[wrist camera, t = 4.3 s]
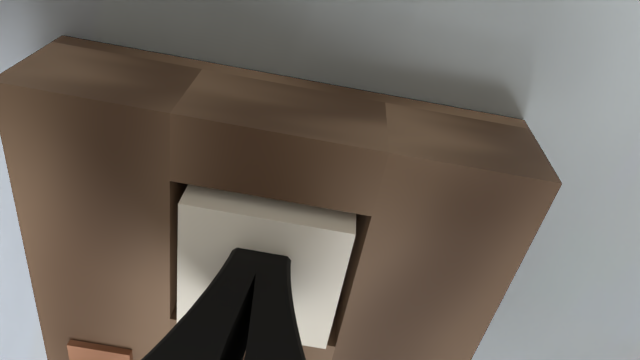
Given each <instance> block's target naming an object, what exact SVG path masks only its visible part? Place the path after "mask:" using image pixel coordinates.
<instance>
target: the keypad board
mask: <svg viewBox="0 0 640 360" xmlns="http://www.w3.org/2000/svg"><path fill="white" fill-rule="evenodd" d="M0 135H1V140H2V145H3V149H4V154H5V159H6V164H7V168H8V173H9V178H10V183H11V187H12V192H13V197H14V202H15V206H16V211H17V216H18V221H19V226H20V230H21V235H22V240H23V245H24V249H25V254H26V259H27V264H28V268H29V273H30V278H31V283H32V287H33V292H34V297H35V302H36V307H37V311H38V316H39V321H40V326H41V330H42V335H43V340H44V345H45V349H46V354H47V359H48V360H141V359H142V358H143V357H144V356H145V355H147V354H148V353H149V352H150V351H151V350H152V349H153V348H154V347H155V346H156V345H157V344H158V343H159V342H160V341H161V340H162V339H163V338H164V337H165V336H166V335H167V333H168V332H169V331H170V330H171V329H172V328H173V327H174V326H175V325H176V324H177V247H178V203H179V201H180V199H181V197H182V195H183V193H184V191H185V189H186V187H187V186H188V184H190V185H195V186H201V187H207V188H212V189H218V190H224V191H229V192H235V193H241V194H247V195H252V196H258V197H264V198H269V199H275V200H281V201H286V202H292V203H298V204H304V205H309V206H315V207H321V208H326V209H332V210H338V211H343V212H349V213H355V214H356V236H355V240H354V243H353V247H352V251H351V255H350V259H349V262H348V266H347V270H346V274H345V278H344V281H343V285H342V289H341V293H340V297H339V301H338V304H337V308H336V312H335V316H334V320H333V323H332V327H331V331H330V335H329V339H328V342H327V346H326V349H322V348H316V347H310V346H304V345H302V347H303V351H304V354H305V358H306V360H471V359H472V357H473V355H474V353H475V351H476V349H477V347H478V345H479V343H480V341H481V339H482V338H483V336H484V334H485V332H486V330H487V328H488V326H489V324H490V322H491V320H492V318H493V316H494V314H495V312H496V310H497V309H498V307H499V305H500V303H501V301H502V299H503V297H504V295H505V293H506V291H507V289H508V287H509V285H510V283H511V281H512V279H513V278H514V276H515V274H516V272H517V270H518V268H519V266H520V264H521V262H522V260H523V258H524V256H525V254H526V252H527V250H528V249H529V247H530V245H531V243H532V241H533V239H534V237H535V235H536V233H537V231H538V229H539V227H540V225H541V223H542V221H543V220H544V218H545V216H546V214H547V212H548V210H549V208H550V206H551V204H552V202H553V200H554V198H555V196H556V194H557V192H558V190H559V189H560V187H561V185H562V183H561V181H560V179H559V178H558V176H557V174H556V173H555V171H554V169H553V167H552V166H551V164H550V162H549V161H548V159H547V157H546V156H545V154H544V152H543V151H542V149H541V147H540V146H539V144H538V142H537V140H536V139H535V137H534V135H533V134H532V132H531V130H530V129H529V127H528V125H527V124H526V122H525V120H522V119H516V118H511V117H505V116H500V115H494V114H489V113H483V112H478V111H473V110H467V109H462V108H456V107H451V106H445V105H440V104H434V103H429V102H423V101H418V100H412V99H407V98H401V97H396V96H390V95H385V94H380V93H374V92H369V91H363V90H358V89H352V88H347V87H341V86H336V85H330V84H325V83H319V82H314V81H308V80H303V79H297V78H292V77H287V76H281V75H276V74H270V73H265V72H259V71H254V70H248V69H243V68H237V67H232V66H226V65H221V64H215V63H210V62H205V61H199V60H194V59H188V58H183V57H177V56H172V55H166V54H161V53H155V52H150V51H144V50H139V49H133V48H128V47H122V46H117V45H112V44H106V43H101V42H95V41H90V40H84V39H79V38H73V37H68V36H61V37H59V38H57V39H56V40H54V41H52V42H51V43H49V44H48V45H46V46H44V47H43V48H41V49H40V50H38V51H36V52H35V53H33V54H31V55H30V56H28V57H27V58H25V59H23V60H22V61H20V62H19V63H17V64H15V65H14V66H12V67H10V68H9V69H7V70H6V71H4V72H2V73H1V74H0ZM245 353H246V351H245ZM244 358H245V354H244V357H243V360H244Z"/></svg>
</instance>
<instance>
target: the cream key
mask: <svg viewBox="0 0 640 360" xmlns="http://www.w3.org/2000/svg"><path fill="white" fill-rule="evenodd" d="M355 236H356V214H355V213H349V212H343V211H338V210H332V209H326V208H321V207H315V206H309V205H304V204H298V203H292V202H286V201H281V200H275V199H269V198H264V197H258V196H252V195H247V194H241V193H235V192H229V191H224V190H218V189H212V188H207V187H201V186H195V185H190V184H188V186H187V187H186V189H185V191H184V193H183V195H182V197H181V199H180V201H179V203H178V247H177V323H178V321H179V320H180V319H181V318H182V317H183V316H184V315H185V314H186V313H187V312H188V310H189V309H190V308H191V307H192V306H193V304H194V303H195V302H196V301H197V299H198V298H199V297H200V296H201V294H202V293H203V292H204V291H205V290H206V288H207V287H208V286H209V284H210V283H211V282H212V280H213V279H214V278H215V276H216V275H217V274H218V272H219V271H220V269H221V268H222V266H223V265H224V263H225V262H226V260H227V258H228V257H229V255H230V253H231V251H232V250H233V249H235V248H243V249H249V250H255V251H260V252H266V253H272V254H278V255H284V256H288V257H289V259H290V260H291V289H292V297H293V304H294V310H295V315H296V320H297V325H298V330H299V335H300V339H301V343H302V345H304V346H310V347H316V348H322V349H326V346H327V342H328V339H329V335H330V331H331V327H332V323H333V320H334V316H335V312H336V308H337V304H338V301H339V297H340V293H341V289H342V285H343V281H344V278H345V274H346V270H347V266H348V262H349V259H350V255H351V251H352V247H353V243H354V240H355Z"/></svg>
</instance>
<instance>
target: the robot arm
mask: <svg viewBox="0 0 640 360" xmlns="http://www.w3.org/2000/svg"><path fill="white" fill-rule="evenodd" d="M245 351H246V353H245ZM244 354H245V358H244V360H306V358H305V354H304V351H303V347H302V343H301V339H300V335H299V330H298V325H297V320H296V315H295V310H294V304H293V297H292V289H291V260H290V259H289V257H288V256H284V255H278V254H272V253H266V252H260V251H255V250H249V249H243V248H235V249H233V250H232V251H231V253H230V255H229V257H228V258H227V260H226V262H225V263H224V265H223V266H222V268H221V269H220V271H219V272H218V274H217V275H216V276H215V278H214V279H213V280H212V282H211V283H210V284H209V286H208V287H207V288H206V290H205V291H204V292H203V293H202V294H201V296H200V297H199V298H198V299H197V301H196V302H195V303H194V304H193V306H192V307H191V308H190V309H189V310H188V312H187V313H186V314H185V315H184V316H183V317H182V318H181V319H180V320H179V321H178V323H177V324H176V325H175V326H174V327H173V328H172V329H171V330H170V331H169V332H168V333H167V335H166V336H165V337H164V338H163V339H162V340H161V341H160V342H159V343H158V344H157V345H156V346H155V347H154V348H153V349H152V350H151V351H150V352H149V353H148V354H147V355H145V356H144V357H143V358H142V359H141V360H243V357H244Z"/></svg>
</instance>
